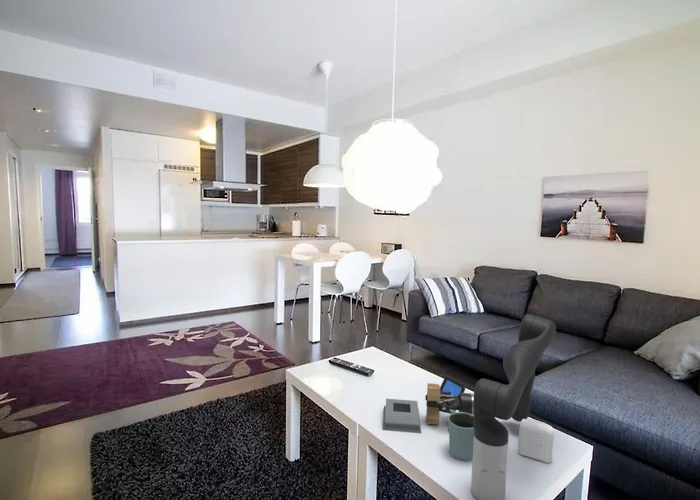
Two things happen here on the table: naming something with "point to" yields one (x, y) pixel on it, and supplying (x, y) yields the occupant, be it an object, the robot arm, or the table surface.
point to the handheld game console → (451, 387)
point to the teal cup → (461, 435)
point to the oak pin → (433, 395)
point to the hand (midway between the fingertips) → (426, 400)
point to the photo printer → (535, 440)
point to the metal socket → (401, 416)
